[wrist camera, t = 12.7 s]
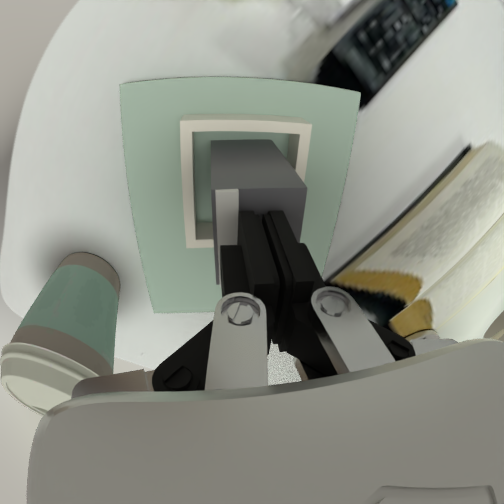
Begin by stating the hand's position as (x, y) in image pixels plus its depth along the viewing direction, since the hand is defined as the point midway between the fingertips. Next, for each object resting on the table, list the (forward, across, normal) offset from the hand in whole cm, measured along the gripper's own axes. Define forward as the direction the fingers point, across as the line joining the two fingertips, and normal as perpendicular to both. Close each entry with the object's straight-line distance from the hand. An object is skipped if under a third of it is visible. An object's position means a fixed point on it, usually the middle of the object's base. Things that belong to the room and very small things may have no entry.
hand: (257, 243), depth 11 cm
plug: (+7, 0, 0) cm, 7 cm away
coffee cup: (+9, +12, +9) cm, 18 cm away
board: (+8, 0, +3) cm, 9 cm away
